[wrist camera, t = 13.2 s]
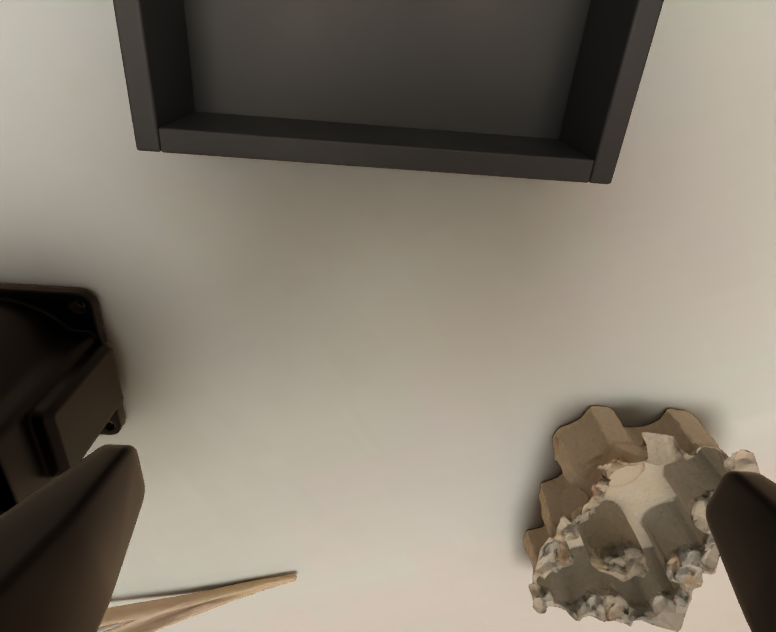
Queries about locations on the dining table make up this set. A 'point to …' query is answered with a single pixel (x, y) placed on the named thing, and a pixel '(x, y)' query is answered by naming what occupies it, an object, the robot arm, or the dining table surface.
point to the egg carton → (628, 518)
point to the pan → (390, 81)
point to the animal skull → (182, 606)
